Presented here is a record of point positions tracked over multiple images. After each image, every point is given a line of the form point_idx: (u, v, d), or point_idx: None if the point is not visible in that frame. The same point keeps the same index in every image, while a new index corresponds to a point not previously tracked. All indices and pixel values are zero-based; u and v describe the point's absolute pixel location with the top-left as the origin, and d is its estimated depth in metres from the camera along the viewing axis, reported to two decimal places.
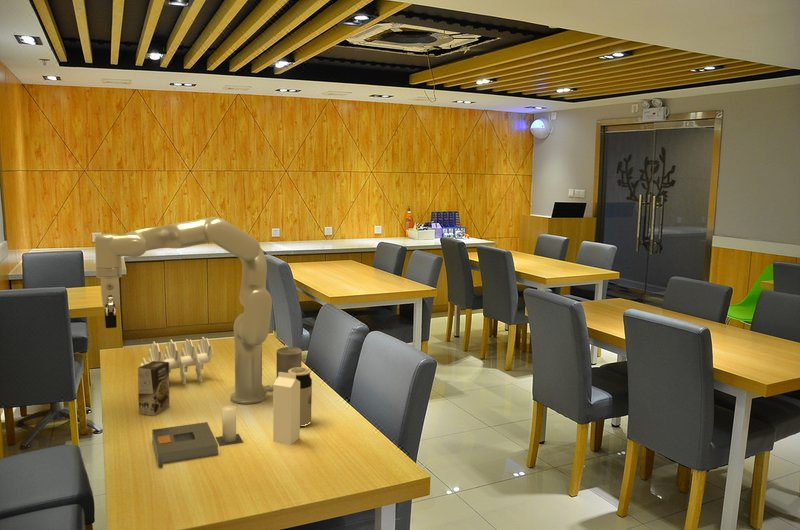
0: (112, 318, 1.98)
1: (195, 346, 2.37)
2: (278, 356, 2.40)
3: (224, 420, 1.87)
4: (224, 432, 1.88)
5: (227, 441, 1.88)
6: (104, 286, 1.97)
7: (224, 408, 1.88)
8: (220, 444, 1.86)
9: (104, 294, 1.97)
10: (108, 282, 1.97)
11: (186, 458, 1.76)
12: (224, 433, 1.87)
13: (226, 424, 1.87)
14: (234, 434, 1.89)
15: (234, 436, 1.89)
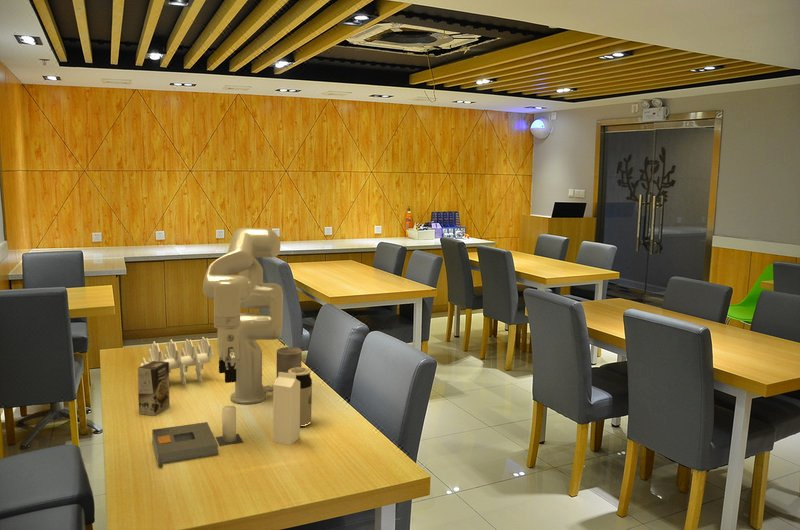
0: (232, 372, 1.82)
1: (195, 346, 2.37)
2: (278, 356, 2.40)
3: (224, 420, 1.87)
4: (224, 432, 1.88)
5: (227, 441, 1.88)
6: (224, 337, 1.81)
7: (224, 408, 1.88)
8: (220, 444, 1.86)
9: (224, 346, 1.81)
10: (229, 333, 1.81)
11: (186, 458, 1.76)
12: (224, 433, 1.87)
13: (226, 424, 1.87)
14: (234, 434, 1.89)
15: (234, 436, 1.89)
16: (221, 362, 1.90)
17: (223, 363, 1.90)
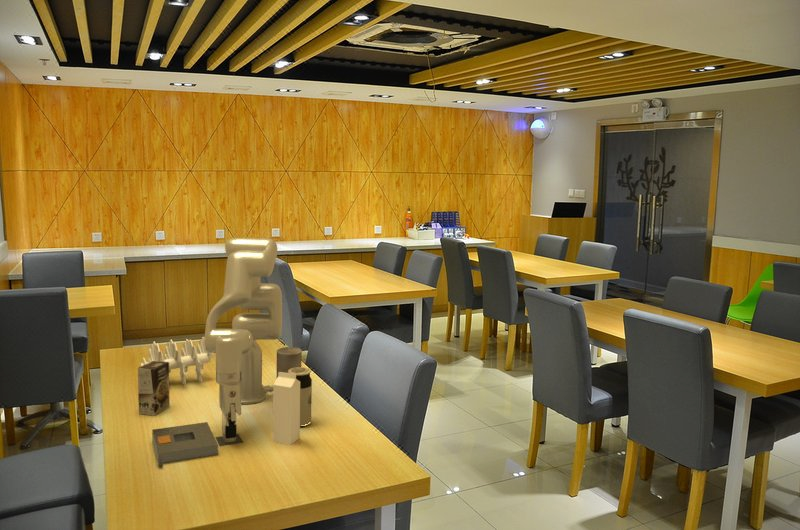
0: (233, 428, 1.86)
1: (195, 346, 2.37)
2: (278, 356, 2.40)
3: (224, 420, 1.87)
4: (224, 432, 1.88)
5: (227, 441, 1.88)
6: (226, 393, 1.83)
7: None
8: (220, 444, 1.86)
9: (226, 402, 1.83)
10: (231, 389, 1.83)
11: (186, 458, 1.76)
12: (224, 433, 1.87)
13: None
14: None
15: None
16: None
17: None
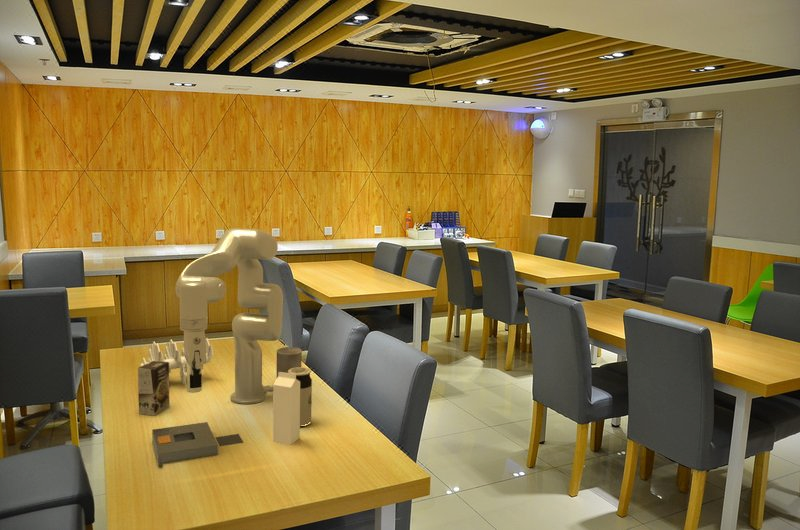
0: (197, 377, 1.79)
1: None
2: (278, 356, 2.40)
3: (189, 369, 1.80)
4: (189, 382, 1.81)
5: (192, 391, 1.81)
6: (191, 340, 1.76)
7: None
8: (220, 444, 1.86)
9: (190, 349, 1.76)
10: (195, 336, 1.76)
11: (186, 458, 1.76)
12: (189, 383, 1.81)
13: None
14: None
15: None
16: None
17: None
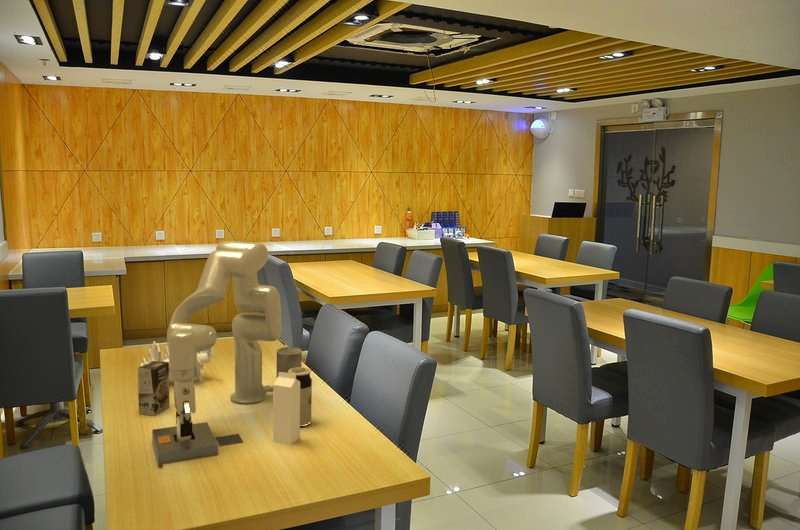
0: (188, 426, 1.78)
1: None
2: (278, 356, 2.40)
3: (178, 430, 1.82)
4: None
5: None
6: (179, 391, 1.77)
7: (178, 417, 1.82)
8: (220, 444, 1.86)
9: (179, 400, 1.77)
10: (184, 386, 1.77)
11: (186, 458, 1.76)
12: None
13: None
14: None
15: None
16: (178, 414, 1.86)
17: (180, 414, 1.86)
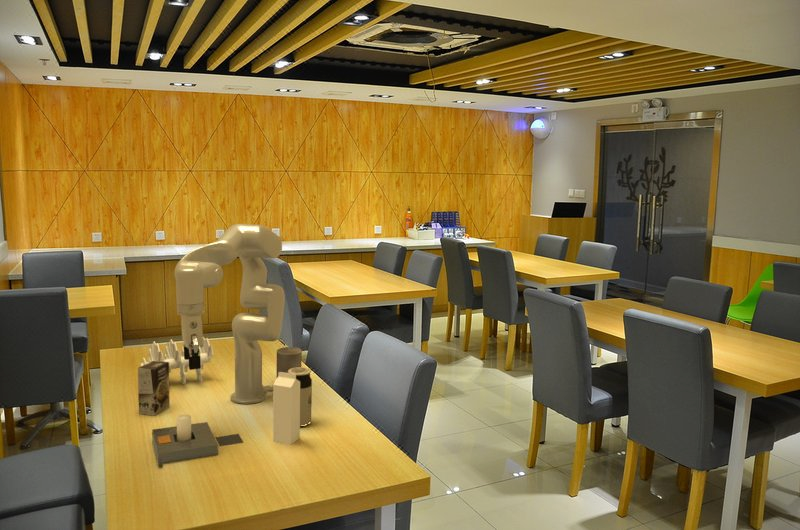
0: (196, 359, 1.82)
1: None
2: (278, 356, 2.40)
3: (178, 430, 1.82)
4: None
5: None
6: (187, 324, 1.80)
7: (178, 417, 1.82)
8: (220, 444, 1.86)
9: (187, 333, 1.81)
10: (191, 320, 1.81)
11: (186, 458, 1.76)
12: None
13: (180, 434, 1.81)
14: None
15: None
16: (186, 348, 1.90)
17: (188, 349, 1.91)
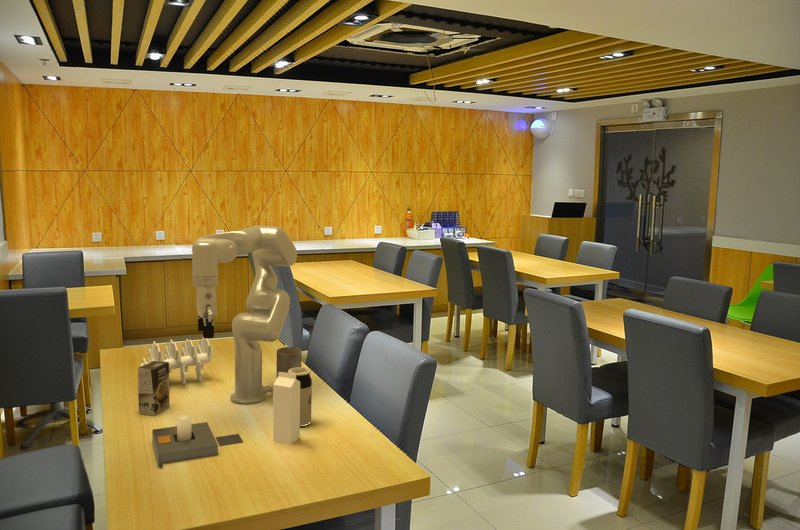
0: (210, 328, 1.93)
1: (195, 346, 2.37)
2: (278, 356, 2.40)
3: (178, 429, 1.82)
4: None
5: None
6: (202, 295, 1.92)
7: (179, 417, 1.82)
8: (220, 444, 1.86)
9: (202, 303, 1.92)
10: (206, 291, 1.92)
11: (186, 458, 1.76)
12: None
13: (180, 434, 1.81)
14: None
15: None
16: (200, 320, 2.01)
17: (202, 321, 2.01)
